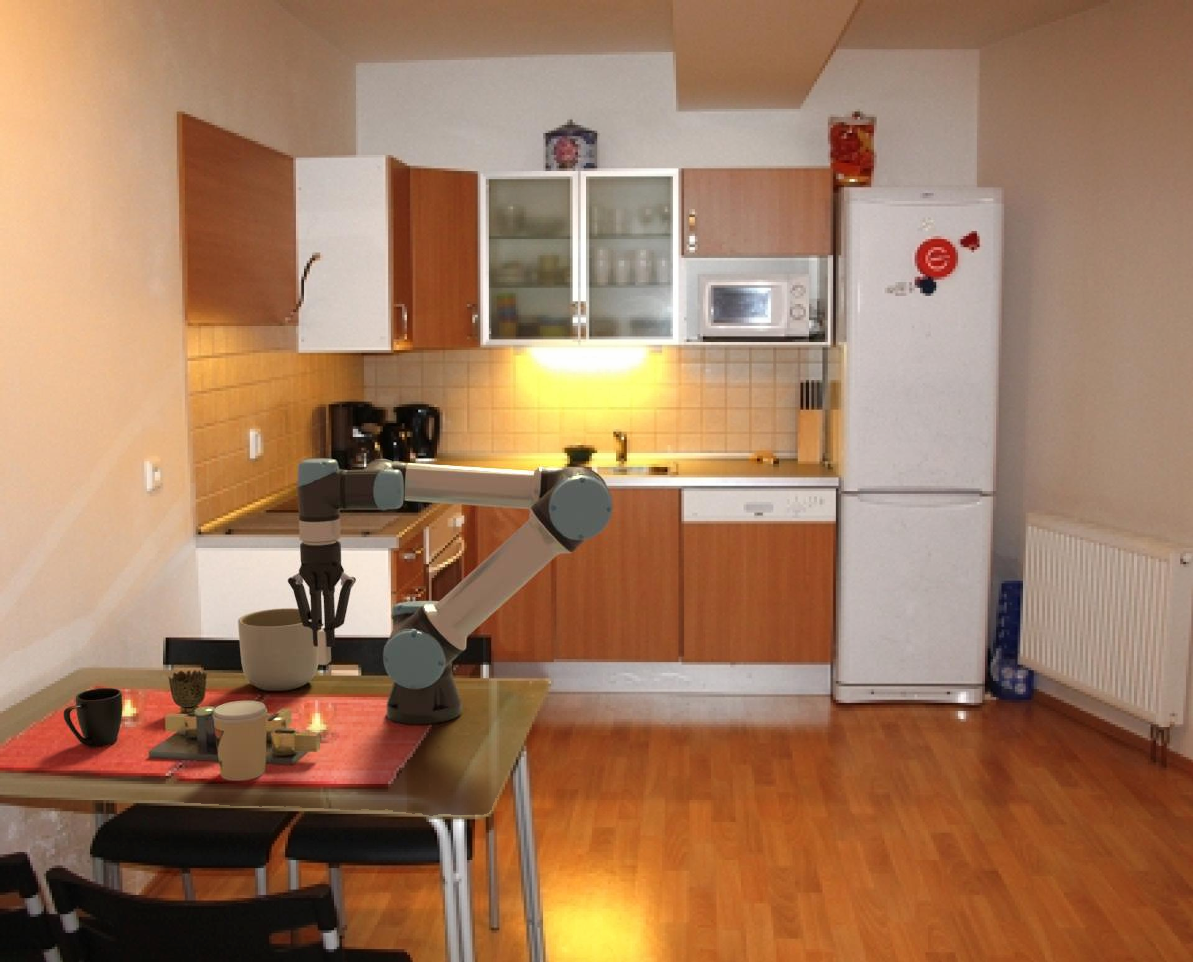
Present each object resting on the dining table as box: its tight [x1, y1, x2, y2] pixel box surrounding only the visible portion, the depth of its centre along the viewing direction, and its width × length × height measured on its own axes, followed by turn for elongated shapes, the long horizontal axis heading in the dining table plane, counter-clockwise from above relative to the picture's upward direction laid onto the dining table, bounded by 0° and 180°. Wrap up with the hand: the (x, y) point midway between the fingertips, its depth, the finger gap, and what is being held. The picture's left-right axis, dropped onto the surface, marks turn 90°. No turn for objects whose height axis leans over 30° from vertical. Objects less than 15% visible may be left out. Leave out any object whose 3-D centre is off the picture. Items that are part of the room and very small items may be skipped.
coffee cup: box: [213, 700, 268, 782], centre depth 233 cm, size 9×9×12 cm
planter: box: [237, 607, 319, 692], centre depth 286 cm, size 17×17×15 cm
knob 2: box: [266, 707, 292, 740], centre depth 251 cm, size 9×5×4 cm, turn 170°
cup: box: [168, 669, 208, 714], centre depth 268 cm, size 8×7×8 cm
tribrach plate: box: [148, 705, 322, 766], centre depth 246 cm, size 28×14×8 cm, turn 80°
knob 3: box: [271, 727, 321, 755], centre depth 240 cm, size 9×5×4 cm, turn 80°
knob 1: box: [164, 712, 197, 738], centre depth 251 cm, size 9×5×4 cm, turn 80°
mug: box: [63, 687, 123, 748], centre depth 249 cm, size 8×12×10 cm
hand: (324, 662), depth 250 cm, fingers closed
